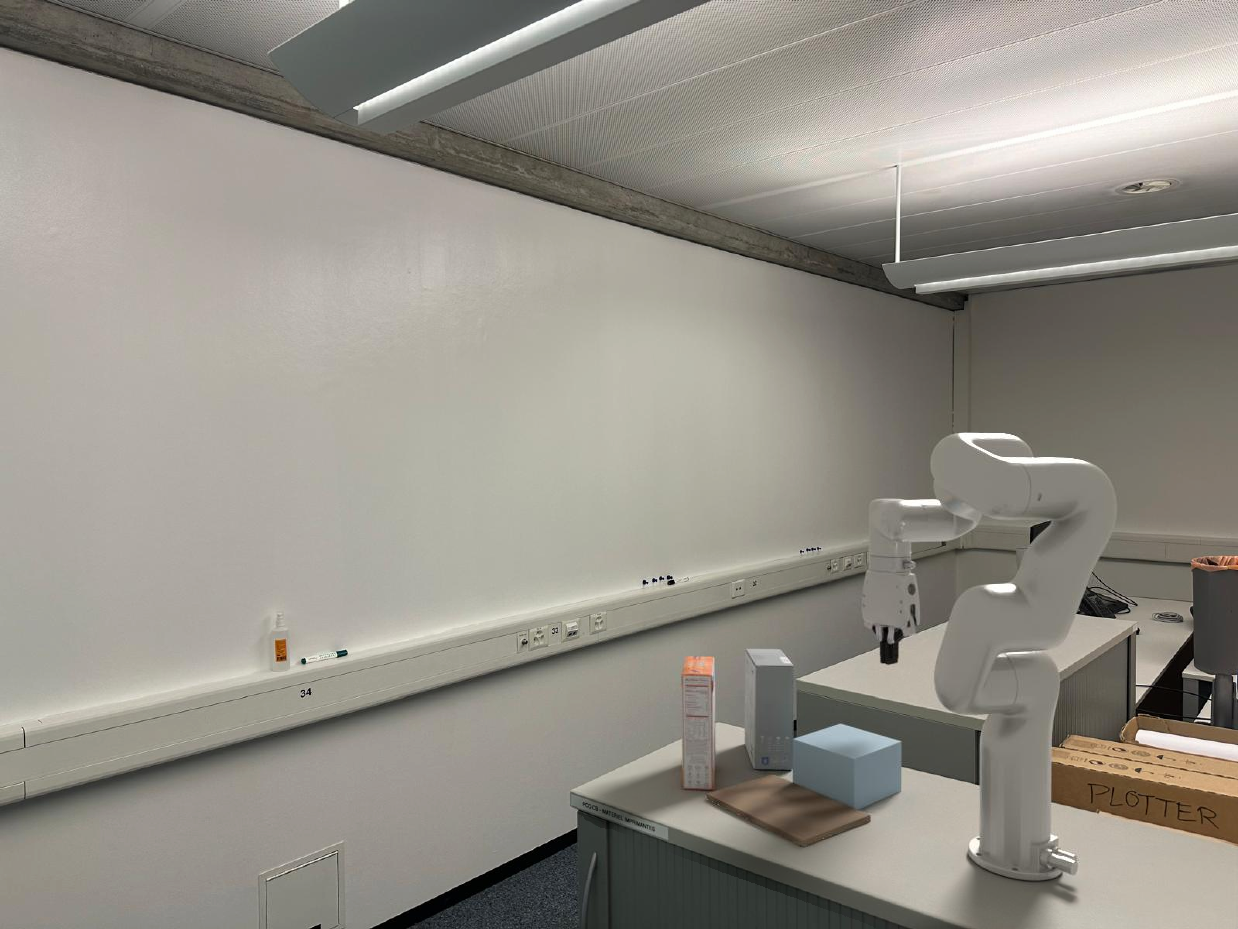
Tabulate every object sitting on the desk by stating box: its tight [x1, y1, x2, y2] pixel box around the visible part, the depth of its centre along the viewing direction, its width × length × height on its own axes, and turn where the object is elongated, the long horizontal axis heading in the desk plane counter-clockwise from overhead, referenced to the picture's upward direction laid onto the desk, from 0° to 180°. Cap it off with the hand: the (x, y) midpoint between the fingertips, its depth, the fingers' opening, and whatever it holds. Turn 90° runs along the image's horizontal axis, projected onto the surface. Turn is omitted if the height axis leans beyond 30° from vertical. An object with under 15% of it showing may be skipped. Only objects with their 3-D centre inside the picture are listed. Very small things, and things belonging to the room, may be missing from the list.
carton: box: [792, 723, 902, 810], centre depth 151 cm, size 13×14×9 cm
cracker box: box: [681, 655, 716, 791], centre depth 157 cm, size 14×6×21 cm, turn 172°
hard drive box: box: [744, 648, 795, 771], centre depth 168 cm, size 16×8×20 cm, turn 179°
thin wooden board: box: [706, 773, 872, 848], centre depth 142 cm, size 22×16×1 cm
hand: (889, 662), depth 158 cm, fingers closed
